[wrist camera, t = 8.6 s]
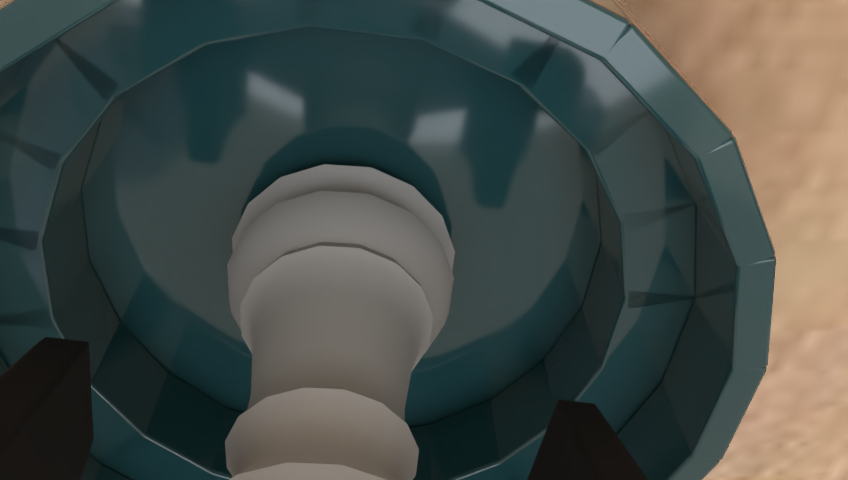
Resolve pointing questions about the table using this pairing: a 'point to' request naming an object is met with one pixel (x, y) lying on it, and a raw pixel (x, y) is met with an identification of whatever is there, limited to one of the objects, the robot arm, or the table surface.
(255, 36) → the teal bowl
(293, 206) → the rook chess piece
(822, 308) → the table surface
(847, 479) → the table surface
